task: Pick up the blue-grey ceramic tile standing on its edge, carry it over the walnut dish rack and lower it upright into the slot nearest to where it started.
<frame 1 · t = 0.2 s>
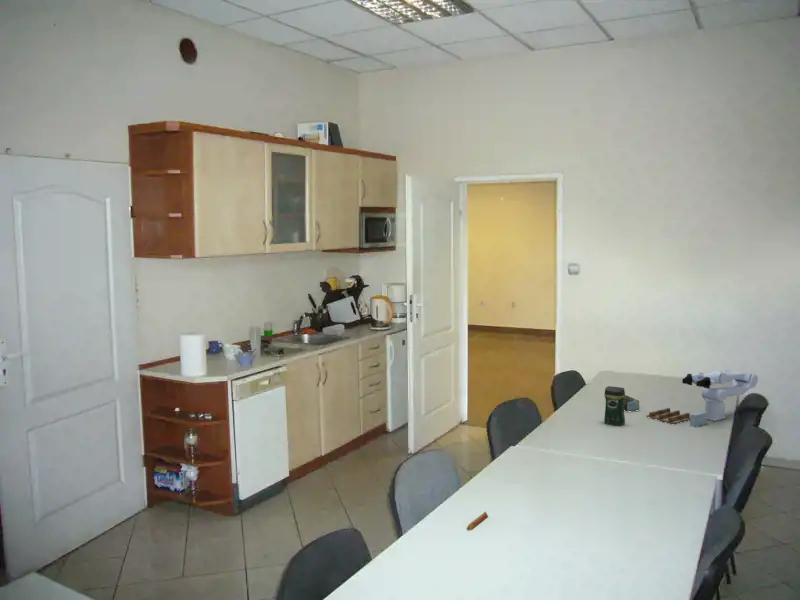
hand: (689, 382, 334), 21 cm above the table, tool horizontal, fingers open, 7 cm apart
beverage carton: (622, 408, 370), on the table
rack: (669, 418, 348), on the table
tile: (698, 425, 336), on the table
coffee jar: (614, 423, 341), on the table
pencil: (477, 524, 231), on the table
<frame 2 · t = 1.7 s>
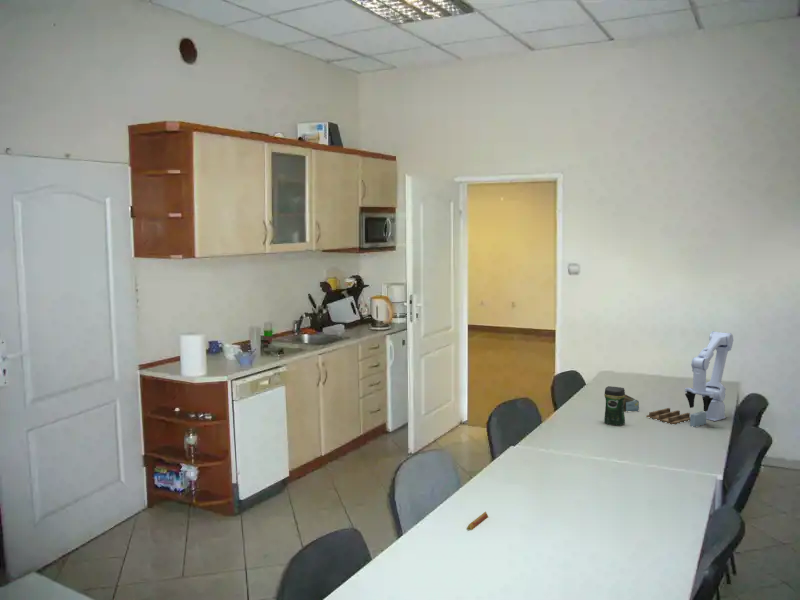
hand: (698, 409, 335), 8 cm above the table, tool pointing down, fingers open, 7 cm apart
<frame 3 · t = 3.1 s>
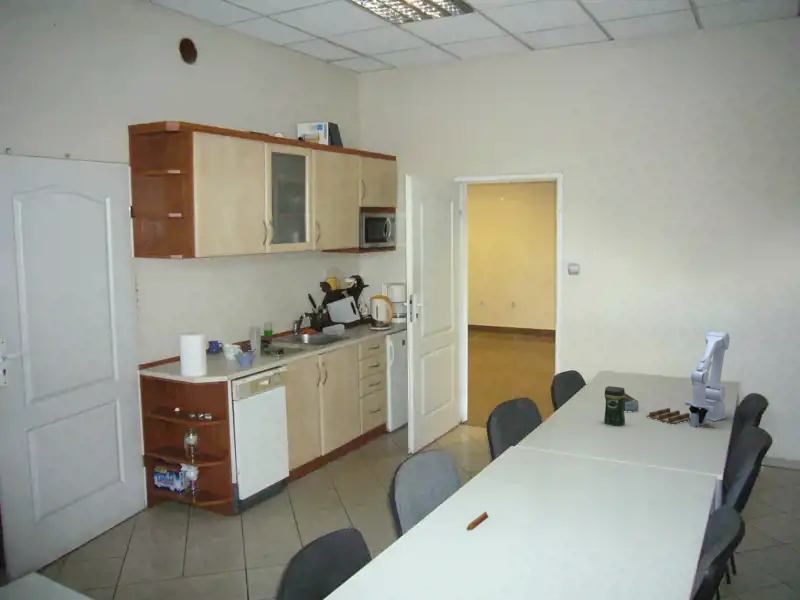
hand: (698, 422, 336), 1 cm above the table, tool pointing down, fingers closed on tile, 2 cm apart
tile: (698, 425, 336), on the table, touching gripper
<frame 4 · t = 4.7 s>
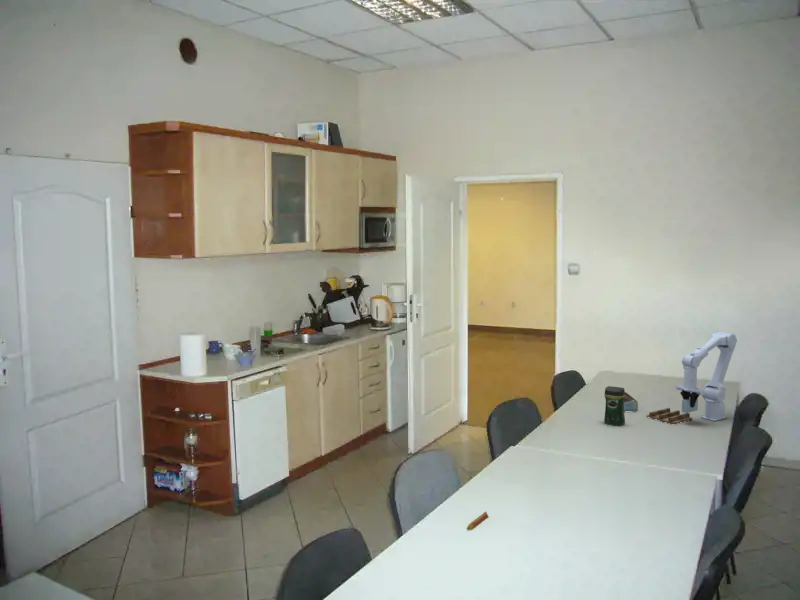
hand: (689, 406, 338), 8 cm above the table, tool pointing down, fingers closed on tile, 2 cm apart
tile: (689, 411, 339), point 6 cm above the table, touching gripper
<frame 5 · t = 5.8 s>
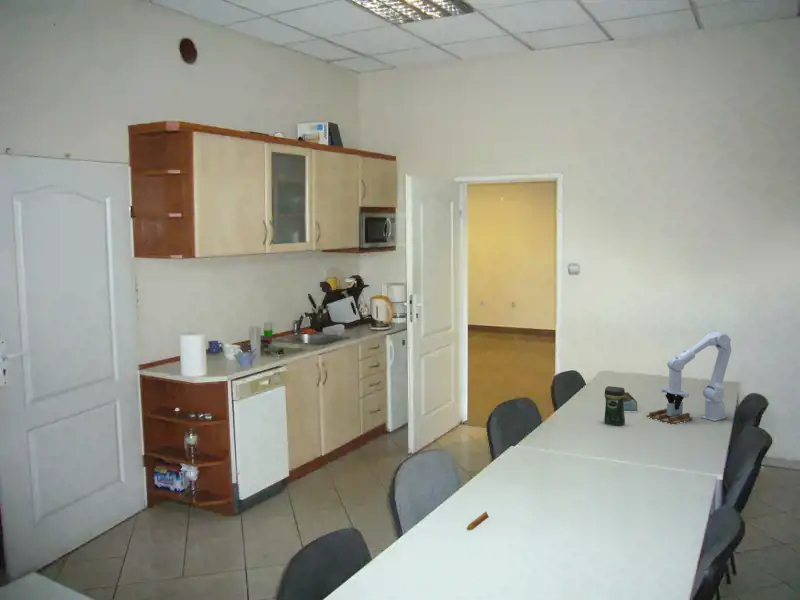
hand: (674, 408, 344), 6 cm above the table, tool pointing down, fingers closed on tile, 2 cm apart
tile: (674, 414, 345), point 3 cm above the table, touching gripper
when the fingers open (4 cm above the table, at t = 6.4 s): tile stays where it is, resting on rack.
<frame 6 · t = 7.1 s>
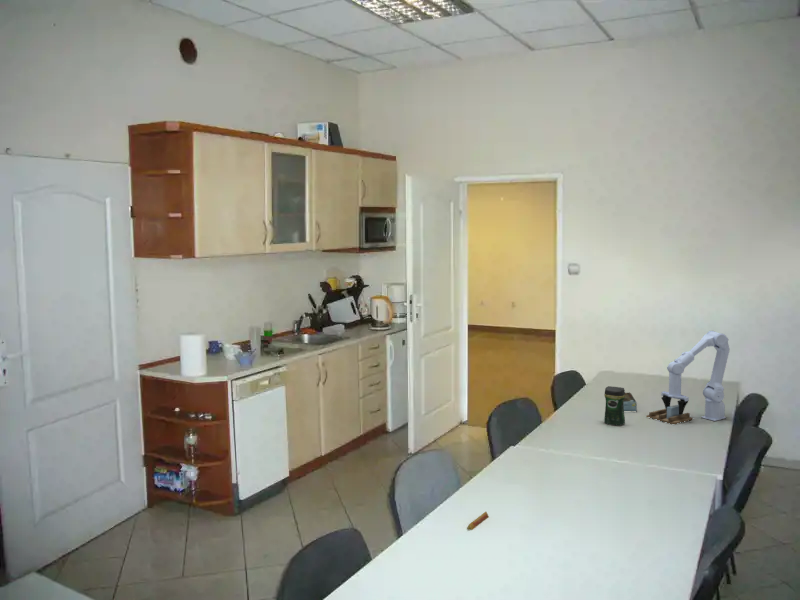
hand: (674, 412, 345), 4 cm above the table, tool pointing down, fingers open, 7 cm apart
tile: (674, 417, 345), point 1 cm above the table, touching rack
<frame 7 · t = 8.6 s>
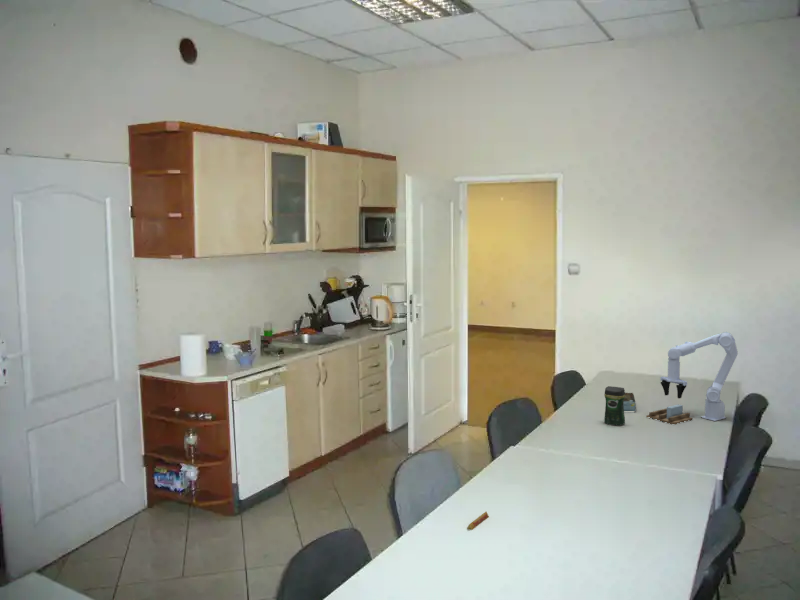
hand: (673, 396, 354), 9 cm above the table, tool pointing down, fingers open, 7 cm apart
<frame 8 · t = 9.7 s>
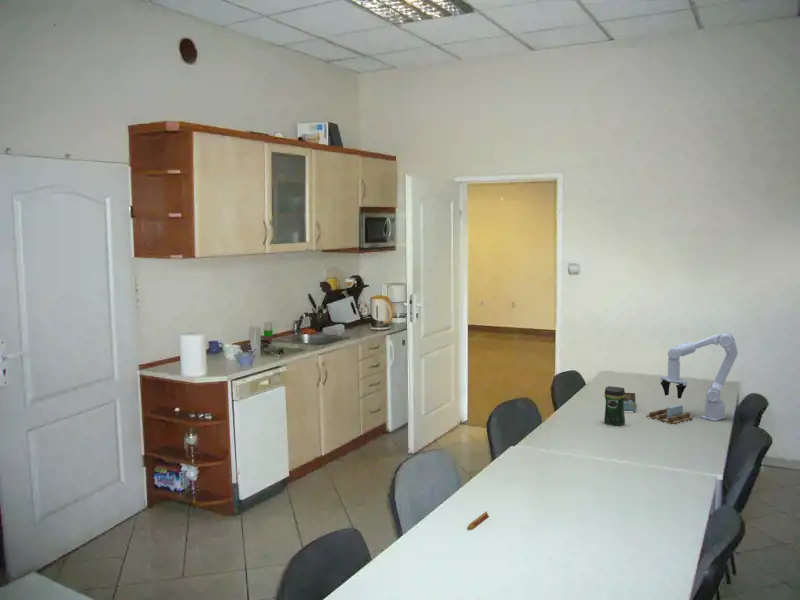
hand: (673, 396, 354), 9 cm above the table, tool pointing down, fingers open, 7 cm apart
at the end: tile inside the target area on the rack (0.3 cm from its centre), point 1.0 cm above the rack's base; tile tilted 0°; the gripper is holding nothing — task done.
